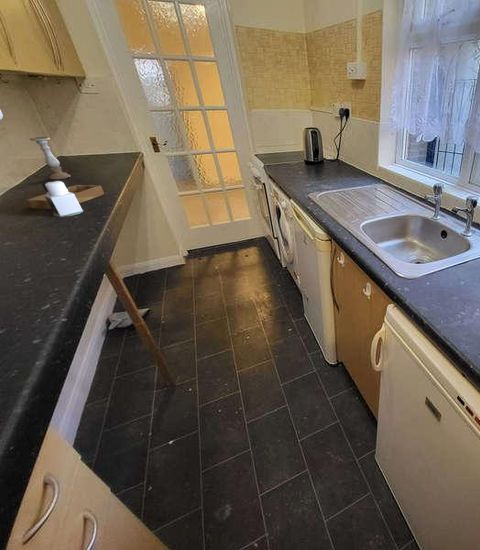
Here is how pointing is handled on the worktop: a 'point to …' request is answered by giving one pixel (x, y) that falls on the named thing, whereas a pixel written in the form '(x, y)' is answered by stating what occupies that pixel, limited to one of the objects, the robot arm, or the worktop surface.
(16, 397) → the worktop surface
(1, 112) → the robot arm
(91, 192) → the tray
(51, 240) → the worktop surface
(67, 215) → the mat
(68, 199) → the medicine bottle
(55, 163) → the candle holder
